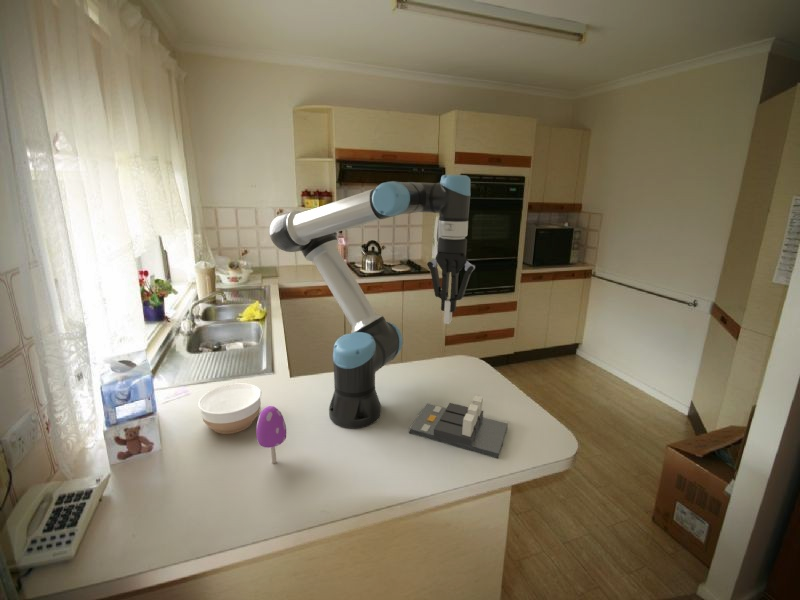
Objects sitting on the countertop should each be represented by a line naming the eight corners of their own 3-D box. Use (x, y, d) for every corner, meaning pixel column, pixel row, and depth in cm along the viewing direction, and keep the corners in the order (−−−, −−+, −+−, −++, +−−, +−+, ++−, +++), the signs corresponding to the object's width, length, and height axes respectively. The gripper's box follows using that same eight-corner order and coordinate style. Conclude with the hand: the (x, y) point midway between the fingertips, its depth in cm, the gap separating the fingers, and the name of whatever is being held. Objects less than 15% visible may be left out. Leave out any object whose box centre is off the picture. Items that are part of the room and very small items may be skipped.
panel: (409, 433, 106) (409, 427, 105) (426, 407, 118) (427, 402, 118) (498, 458, 97) (498, 452, 96) (507, 428, 109) (507, 422, 108)
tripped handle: (466, 424, 104) (467, 409, 103) (469, 418, 107) (470, 403, 105) (474, 426, 103) (476, 411, 102) (477, 420, 106) (478, 405, 105)
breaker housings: (433, 435, 103) (434, 413, 101) (449, 408, 115) (450, 388, 113) (470, 446, 99) (472, 423, 97) (482, 417, 111) (484, 396, 109)
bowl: (238, 401, 120) (235, 377, 117) (275, 416, 112) (273, 392, 110) (189, 427, 106) (185, 402, 104) (227, 447, 99) (223, 420, 96)
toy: (272, 475, 90) (267, 419, 85) (253, 464, 93) (247, 409, 89) (294, 459, 95) (290, 405, 91) (275, 449, 98) (271, 396, 94)
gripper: (424, 237, 100) (420, 322, 107) (473, 240, 95) (467, 330, 102) (433, 233, 107) (430, 314, 114) (480, 237, 102) (474, 321, 109)
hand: (447, 322), depth 108 cm, fingers closed
